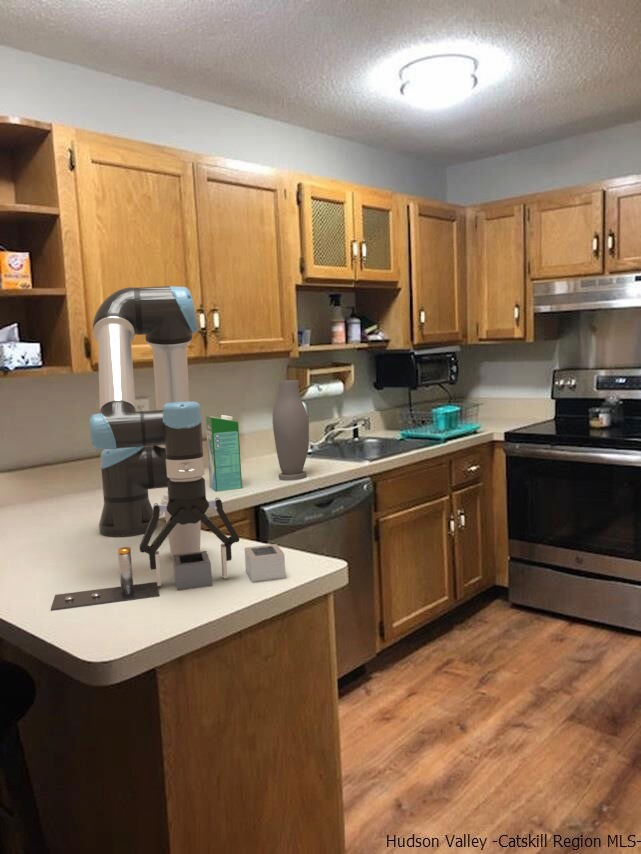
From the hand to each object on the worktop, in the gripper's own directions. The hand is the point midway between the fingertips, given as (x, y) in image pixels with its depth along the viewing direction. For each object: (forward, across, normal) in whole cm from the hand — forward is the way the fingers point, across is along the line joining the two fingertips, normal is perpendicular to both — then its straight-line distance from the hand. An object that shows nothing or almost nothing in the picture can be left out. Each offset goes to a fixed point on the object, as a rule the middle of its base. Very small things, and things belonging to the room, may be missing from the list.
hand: (192, 580), depth 144 cm
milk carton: (0, +19, +94) cm, 96 cm away
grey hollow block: (0, 0, 0) cm, 0 cm away
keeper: (+1, -17, -2) cm, 17 cm away
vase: (-1, +44, +101) cm, 110 cm away
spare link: (0, +15, -1) cm, 15 cm away
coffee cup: (0, 0, +19) cm, 19 cm away
